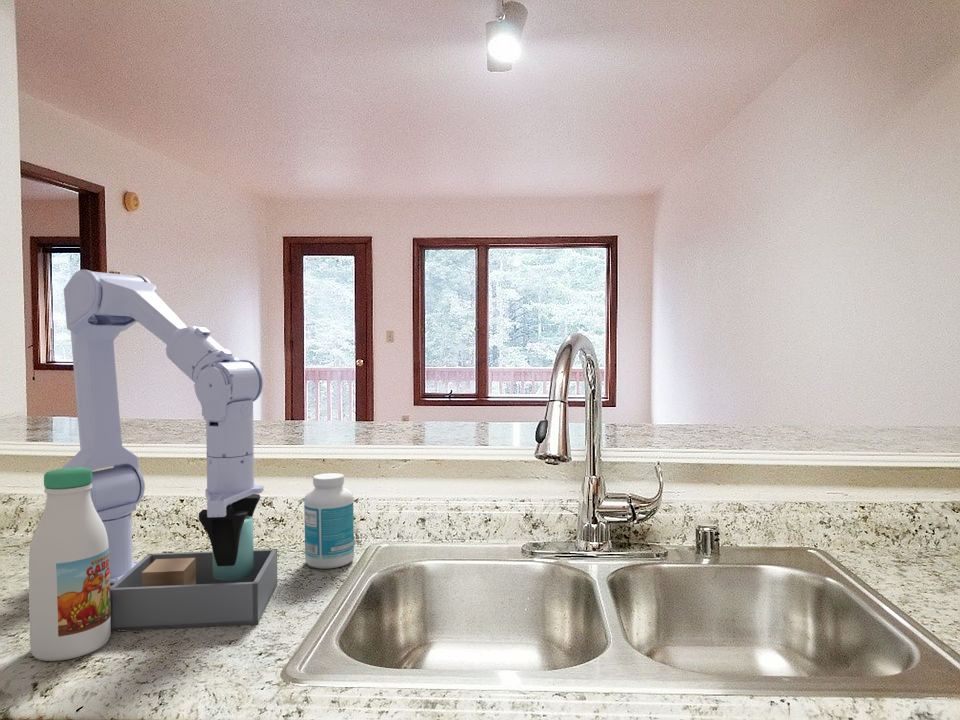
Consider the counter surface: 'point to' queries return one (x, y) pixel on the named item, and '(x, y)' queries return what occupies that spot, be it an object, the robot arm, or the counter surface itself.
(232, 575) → the teal cylinder
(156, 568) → the walnut cube
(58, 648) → the milk bottle
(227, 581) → the tote
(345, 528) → the pill bottle
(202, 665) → the counter surface
